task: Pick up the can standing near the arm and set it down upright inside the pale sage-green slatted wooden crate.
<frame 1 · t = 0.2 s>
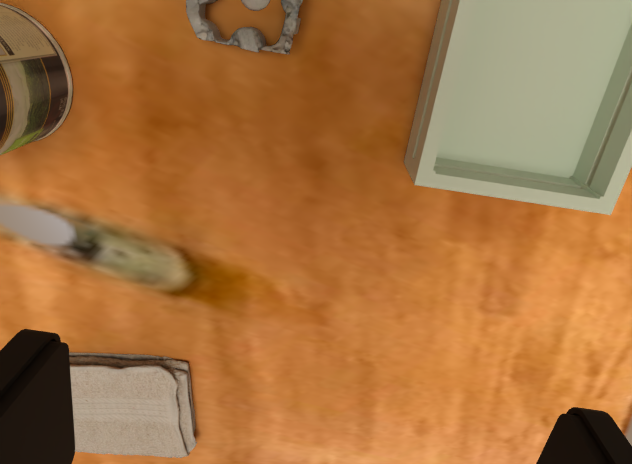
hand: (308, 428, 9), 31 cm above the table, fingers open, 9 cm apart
coffee can: (7, 74, 37), on the table
washcloth: (112, 394, 50), on the table
crate: (526, 57, 35), on the table
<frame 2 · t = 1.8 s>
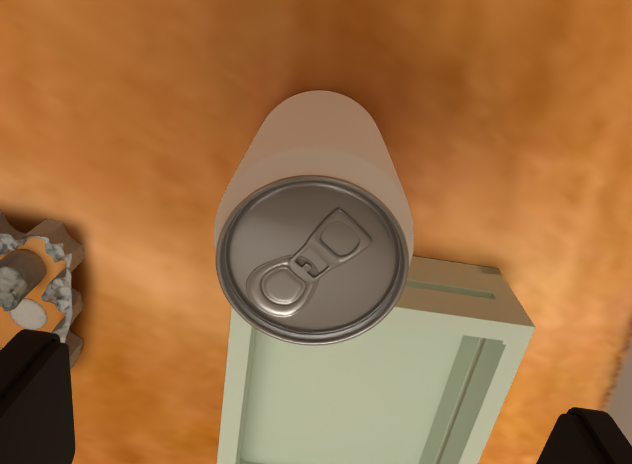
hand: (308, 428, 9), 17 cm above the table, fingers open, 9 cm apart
egg carton: (28, 286, 29), on the table
can: (319, 152, 25), on the table
crate: (347, 374, 31), on the table
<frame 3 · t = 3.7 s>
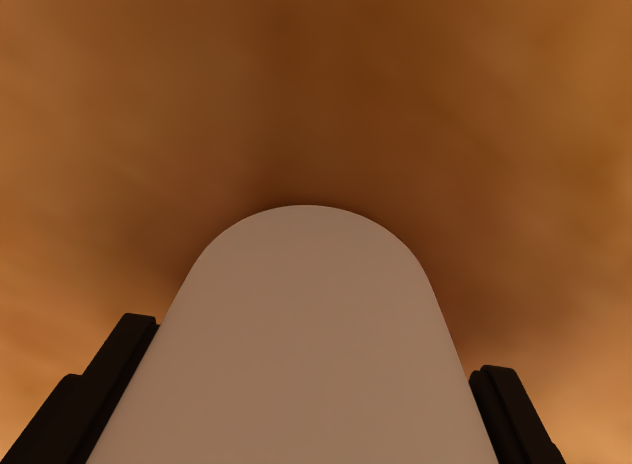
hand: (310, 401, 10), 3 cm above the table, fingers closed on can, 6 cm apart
can: (308, 308, 13), on the table, touching gripper
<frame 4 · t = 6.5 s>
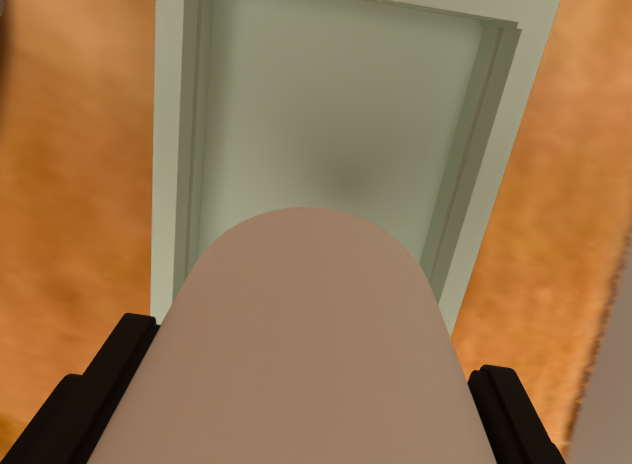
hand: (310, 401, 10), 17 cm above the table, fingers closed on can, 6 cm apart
can: (308, 310, 13), point 13 cm above the table, touching gripper
crate: (323, 167, 25), on the table
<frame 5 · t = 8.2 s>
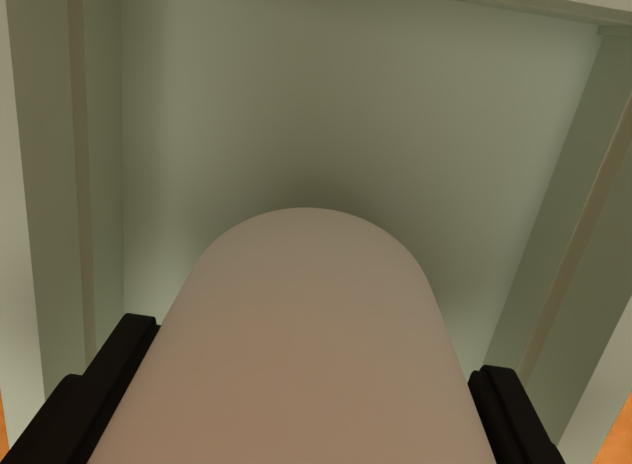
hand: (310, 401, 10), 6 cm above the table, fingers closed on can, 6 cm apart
can: (308, 310, 13), point 3 cm above the table, touching gripper
crate: (318, 259, 16), on the table
when the fingers open (6 cm above the table, at t = 9.2 s): can drops 2 cm, resting on crate.
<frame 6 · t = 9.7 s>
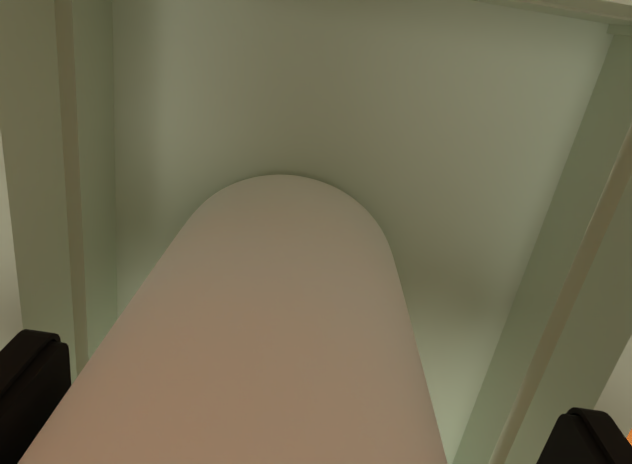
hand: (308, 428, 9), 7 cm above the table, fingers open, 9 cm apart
can: (285, 269, 15), point 1 cm above the table, touching crate
crate: (317, 265, 15), on the table
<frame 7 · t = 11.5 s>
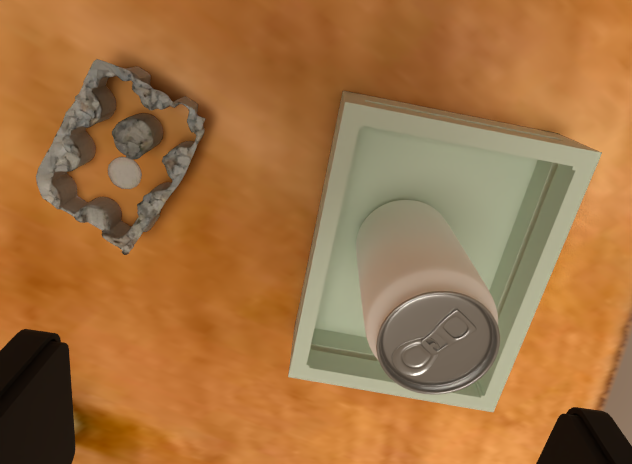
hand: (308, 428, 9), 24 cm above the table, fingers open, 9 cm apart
egg carton: (135, 149, 33), on the table
can: (402, 241, 34), point 1 cm above the table, touching crate
crate: (414, 240, 34), on the table
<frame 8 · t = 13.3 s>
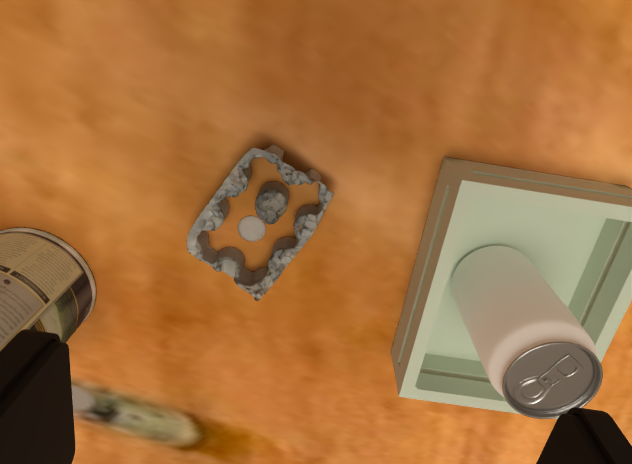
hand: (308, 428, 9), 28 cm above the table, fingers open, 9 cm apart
egg carton: (261, 208, 39), on the table
coffee can: (38, 280, 41), on the table
can: (489, 277, 39), point 1 cm above the table, touching crate
crate: (498, 276, 40), on the table
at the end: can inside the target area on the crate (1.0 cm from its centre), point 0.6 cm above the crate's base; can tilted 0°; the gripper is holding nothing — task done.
